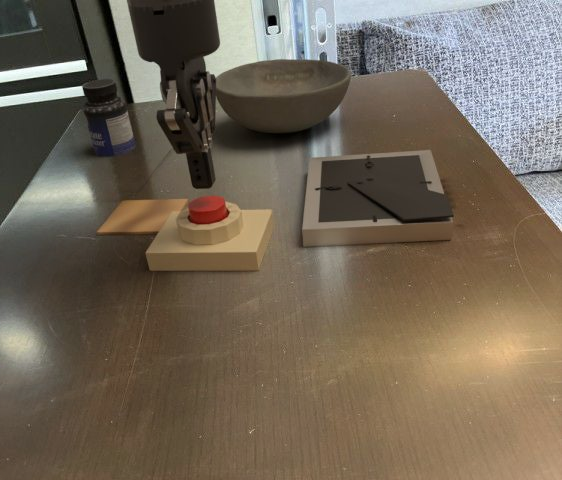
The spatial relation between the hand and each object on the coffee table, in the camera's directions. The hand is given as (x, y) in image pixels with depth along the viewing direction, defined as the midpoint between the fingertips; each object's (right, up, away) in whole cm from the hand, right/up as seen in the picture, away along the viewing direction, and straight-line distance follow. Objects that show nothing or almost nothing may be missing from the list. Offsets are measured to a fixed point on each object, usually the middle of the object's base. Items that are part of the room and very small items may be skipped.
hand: (204, 185), depth 65 cm
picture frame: (+19, +1, +10) cm, 21 cm away
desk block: (+1, -6, +5) cm, 7 cm away
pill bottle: (-17, +13, +30) cm, 36 cm away
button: (0, -3, +2) cm, 4 cm away
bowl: (+9, +20, +35) cm, 41 cm away
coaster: (-9, 0, +13) cm, 15 cm away
